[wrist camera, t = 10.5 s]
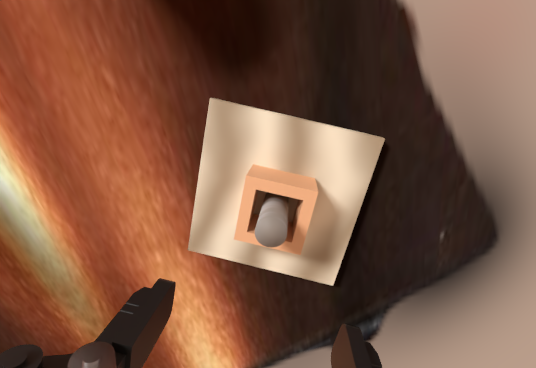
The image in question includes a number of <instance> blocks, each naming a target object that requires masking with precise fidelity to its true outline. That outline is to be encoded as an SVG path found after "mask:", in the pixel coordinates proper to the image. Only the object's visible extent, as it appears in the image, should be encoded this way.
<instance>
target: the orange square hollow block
mask: <svg viewBox="0 0 536 368" xmlns="http://www.w3.org/2000/svg"><path fill="white" fill-rule="evenodd" d="M258 190H260V191H265V192H269V193H273V194H278V195H282V196H286V197H291V198H295V199H299V200H298V203H297V207H296V211H295V215H294V219H293V222H292V223H291V222H288V226H287V237H286V240H285V241H284V243H283V244H281V245H280V246H278V247H272V249H276V250H281V251H285V252H289V253H293V254H298V255H301V252H302V248H303V245H304V241H305V238H306V234H307V231H308V227H309V224H310V220H311V217H312V213H313V210H314V206H315V203H316V199H317V196H318V188H317V184H316V180H315V178H312V177H307V176H303V175H299V174H294V173H290V172H285V171H281V170H277V169H272V168H268V167H263V166H259V165H255V164H253V165H252V167H251V168H250V170H249V172H248V173H247V175H246V178H245V184H244V189H243V194H242V199H241V204H240V210H239V215H238V220H237V225H236V230H235V236H234V240H238V241H242V242H247V243H251V244H255V245H259V246H263V245H262V244H260V243H259V242H258V241H257V239H256V237H255V227H256V224H257V221H258V218H259V215H257V214H254V209H255V204H256V200H257V195H258ZM264 247H266V246H264ZM268 248H271V247H268Z"/></svg>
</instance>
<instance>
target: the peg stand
mask: <svg viewBox="0 0 536 368" xmlns="http://www.w3.org/2000/svg"><path fill="white" fill-rule="evenodd" d="M384 140H385V138H382V137H379V136H375V135H371V134H366V133H362V132H358V131H353V130H349V129H345V128H341V127H336V126H332V125H328V124H323V123H319V122H315V121H310V120H306V119H302V118H297V117H293V116H289V115H284V114H280V113H276V112H272V111H267V110H263V109H259V108H254V107H250V106H246V105H241V104H237V103H233V102H228V101H224V100H220V99H216V98H210V101H209V108H208V114H207V121H206V128H205V135H204V142H203V149H202V156H201V163H200V170H199V177H198V183H197V190H196V197H195V204H194V211H193V218H192V225H191V232H190V239H189V246H188V250H190V251H194V252H198V253H202V254H206V255H210V256H214V257H218V258H222V259H226V260H230V261H234V262H238V263H242V264H247V265H251V266H255V267H259V268H263V269H267V270H271V271H275V272H279V273H283V274H287V275H291V276H295V277H299V278H303V279H308V280H312V281H316V282H320V283H324V284H328V285H332V286H333V285H334V282H335V279H336V276H337V273H338V270H339V268H340V265H341V262H342V259H343V256H344V254H345V251H346V248H347V245H348V242H349V239H350V237H351V234H352V231H353V228H354V225H355V222H356V220H357V217H358V214H359V211H360V208H361V205H362V203H363V200H364V197H365V194H366V191H367V188H368V186H369V183H370V180H371V177H372V174H373V171H374V169H375V166H376V163H377V160H378V157H379V154H380V152H381V149H382V146H383V143H384ZM253 164H255V165H259V166H263V167H268V168H272V169H277V170H281V171H285V172H290V173H294V174H299V175H303V176H307V177H312V178H315V180H316V184H317V188H318V196H317V199H316V203H315V206H314V210H313V213H312V217H311V220H310V224H309V227H308V231H307V234H306V238H305V241H304V245H303V248H302V252H301V255H298V254H293V253H289V252H285V251H281V250H276V249H272V247H278V246H280V245H281V244H283V243H284V241H285V240H286V237H287V226H288V222H291V223H292V222H293V219H294V215H295V211H296V207H297V203H298V200H299V199H295V198H291V197H286V196H282V195H278V194H273V193H269V192H265V191H260V190H258V195H257V200H256V204H255V209H254V214H257V215H259V218H258V221H257V224H256V227H255V237H256V239H257V241H258V242H259V243H260V244H262V245H263V246H259V245H255V244H251V243H247V242H242V241H238V240H234V236H235V230H236V225H237V220H238V215H239V210H240V204H241V199H242V194H243V189H244V184H245V178H246V175H247V173H248V172H249V170H250V168H251V167H252V165H253ZM264 246H266V247H264ZM268 247H271V248H268Z"/></svg>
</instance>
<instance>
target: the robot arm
mask: <svg viewBox="0 0 536 368" xmlns="http://www.w3.org/2000/svg"><path fill="white" fill-rule="evenodd" d="M174 292H175V282H173V281H169V280H165V279H161V278H160V279H158V280H157V282H156V283H155V284H154V286H153V287H152V288H147V287H143V288H142V289H140V290H138V291H137V292H135V293H134V294H133V295H132V296H131V297H130V299H129V300H128V301H127V302H126V304H125V305H124V306H123V307H122V308H121V310H120V312H118V313H117V315H116V316H115V317H114V318H113V320H112V321H111V322H110V323H109V324H108V326H107V327H106V328H105V329H104V331H103V332H102V333H101V334H100V336H99V337H98V338H97V339H96V340H95V341H94V342H92V343H89V344H86V345H84V346H82V347H81V348H79V349H78V350H77V351H76V352H75V353H72V354H67V355H53V356H43V352H42V350H41V348H39V347H38V346H35V345H20V346H16V347H13V348H11V349H9V350H6V351H5V352H3V353H1V354H0V368H142V367H143V365H144V363H145V361H146V359H147V358H148V356H149V354H150V352H151V350H152V349H153V347H154V345H155V343H156V341H157V340H158V338H159V336H160V334H161V332H162V331H163V329H164V327H165V325H166V323H167V321H168V319H169V317H170V314H171V311H172V306H173V299H174ZM331 365H332V368H382V365H381V362H380V359H379V356H378V353H377V352H376V351H375V349H374V348H373V346H372V345H371V344H370V343H369V342H365V341H364V339H363V336H362V332H361V330H360V328H359V327H354V326H350V325H346V324H342V325H341V327H340V330H339V333H338V335H337V338H336V340H335V343H334V345H333V348H332V352H331Z"/></svg>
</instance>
